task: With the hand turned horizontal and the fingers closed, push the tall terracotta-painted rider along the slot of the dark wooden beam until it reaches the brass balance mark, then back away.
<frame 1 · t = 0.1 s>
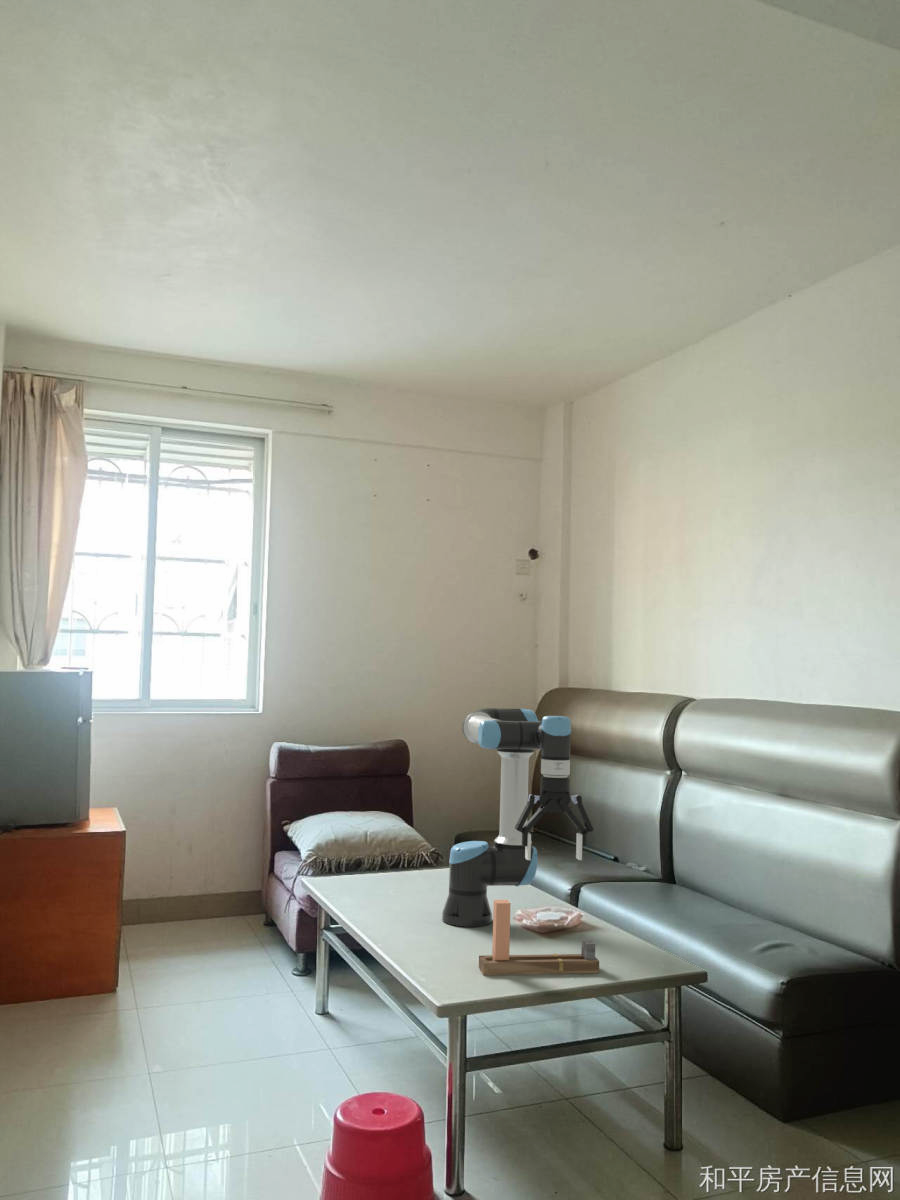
hand: (553, 859, 238), 28 cm above the table, tool pointing down, fingers open, 13 cm apart
beam: (538, 970, 236), on the table
rider: (501, 934, 235), point 9 cm above the table, slide at 0.0 cm
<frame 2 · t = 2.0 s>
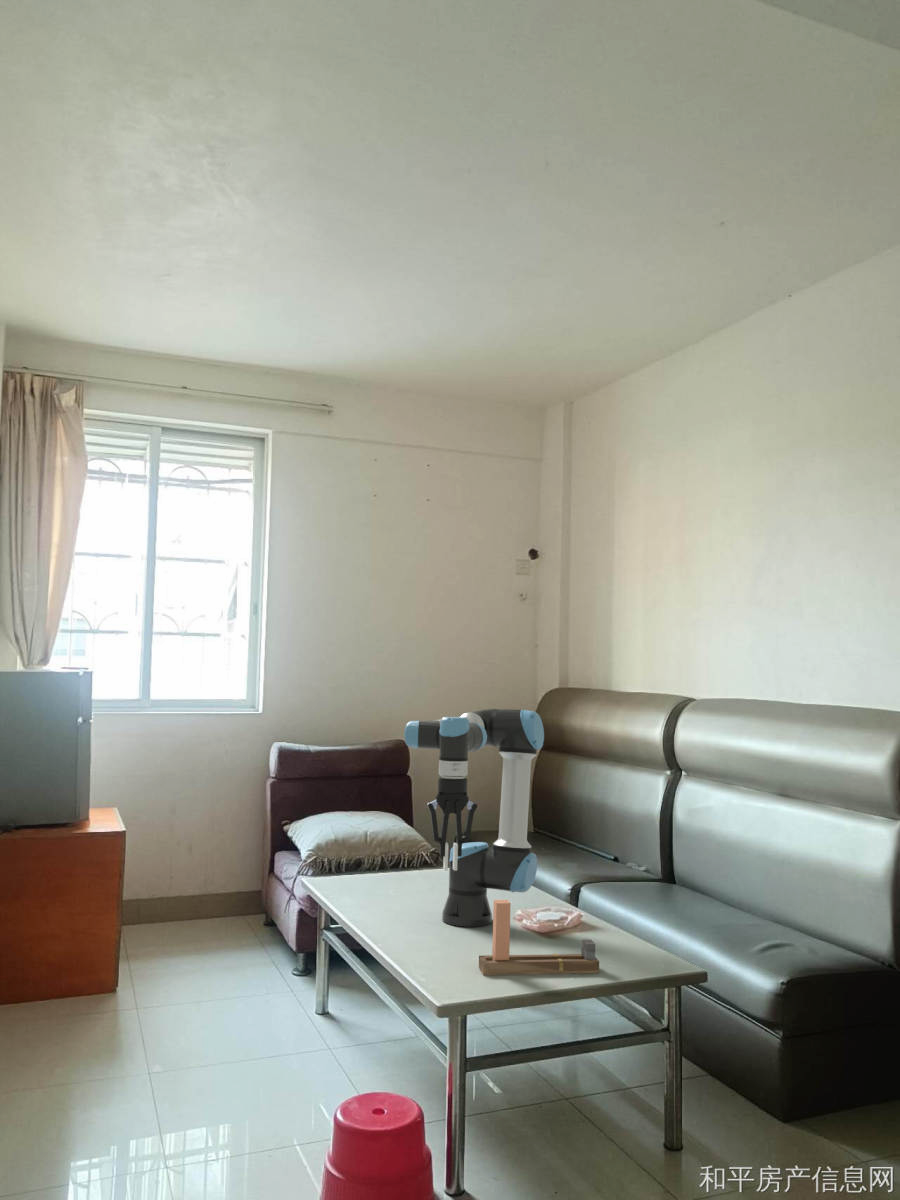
hand: (450, 869, 238), 24 cm above the table, tool pointing down, fingers closed
nothing on the table moved.
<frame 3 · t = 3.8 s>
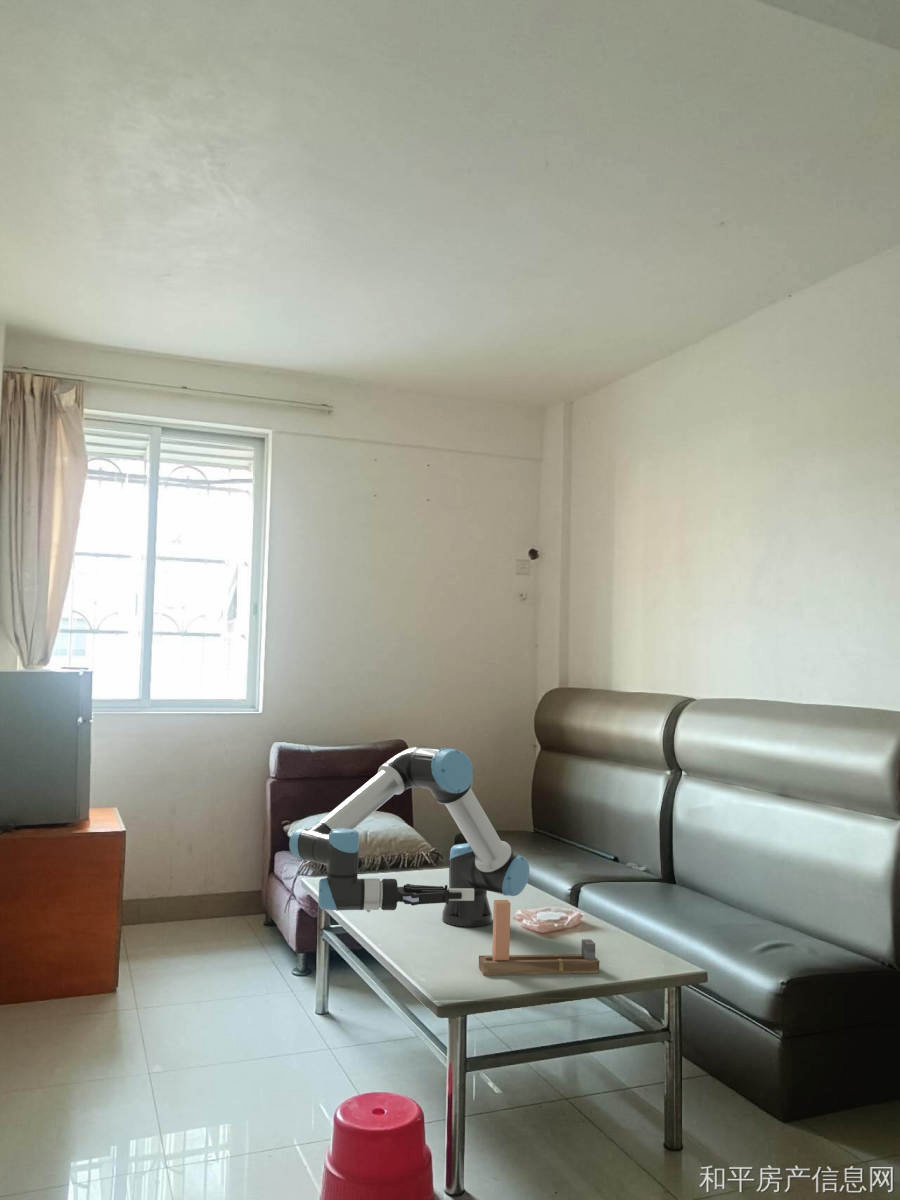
hand: (473, 894, 234), 19 cm above the table, tool horizontal, fingers closed
nothing on the table moved.
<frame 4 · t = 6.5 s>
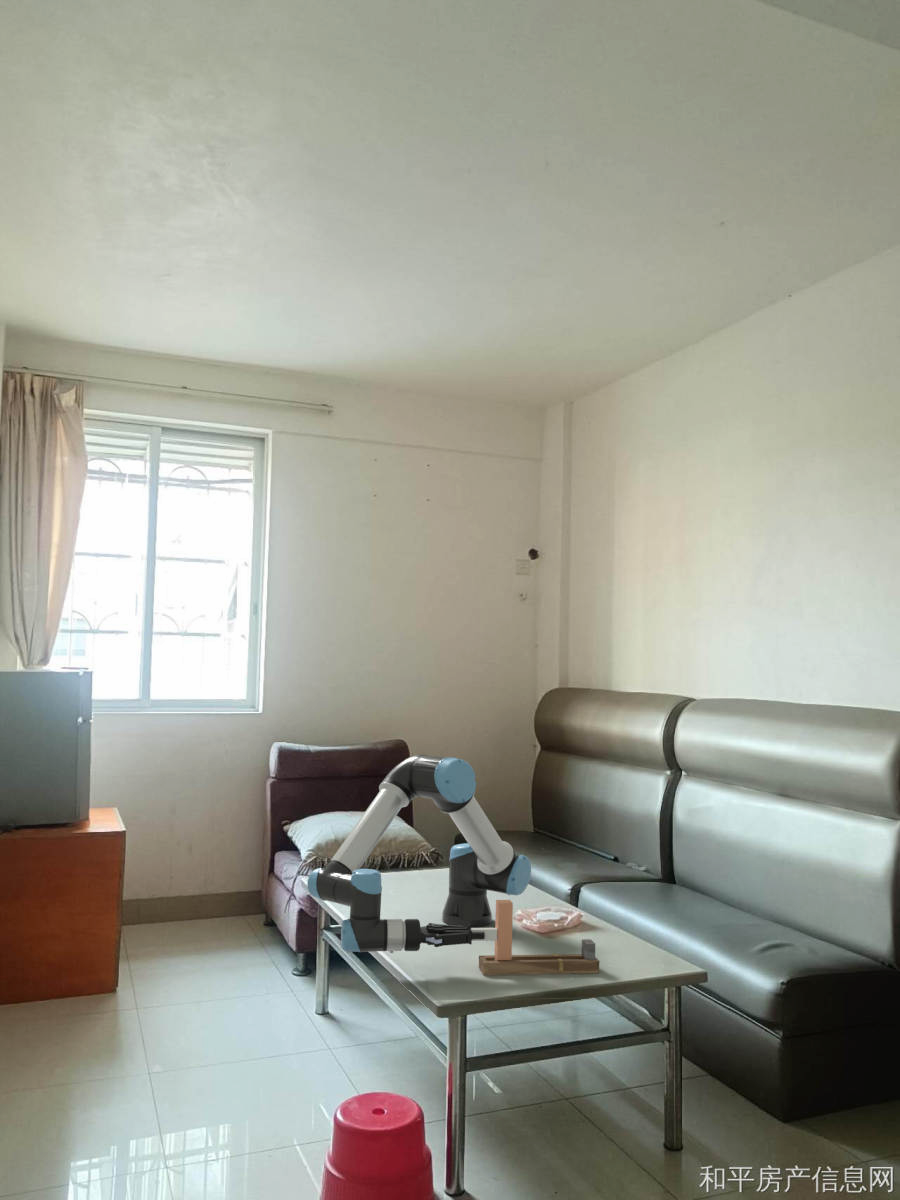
hand: (496, 934, 234), 9 cm above the table, tool horizontal, fingers closed
rider: (503, 934, 235), point 9 cm above the table, slide at 0.6 cm, touching gripper
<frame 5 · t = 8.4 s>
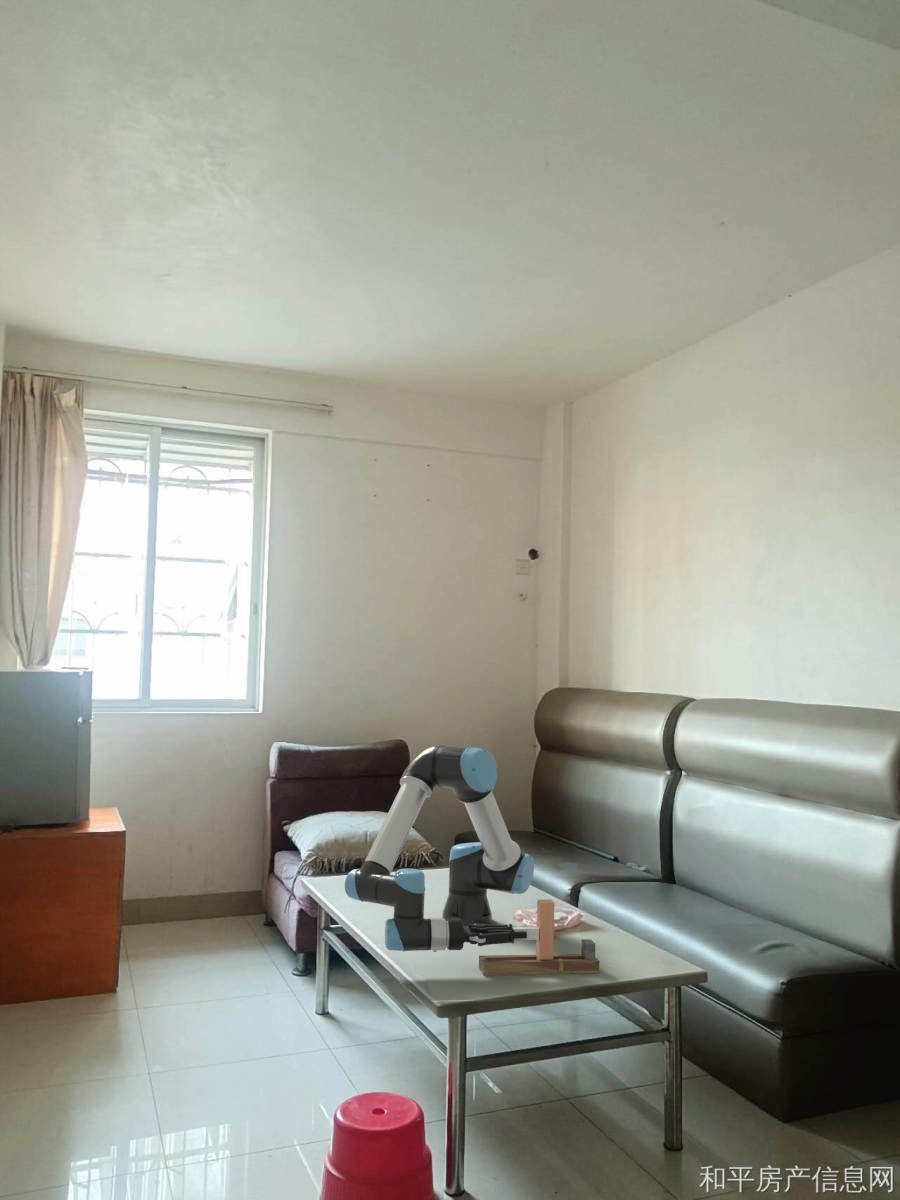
hand: (538, 933, 235), 9 cm above the table, tool horizontal, fingers closed
rider: (545, 933, 237), point 9 cm above the table, slide at 11.5 cm, touching gripper
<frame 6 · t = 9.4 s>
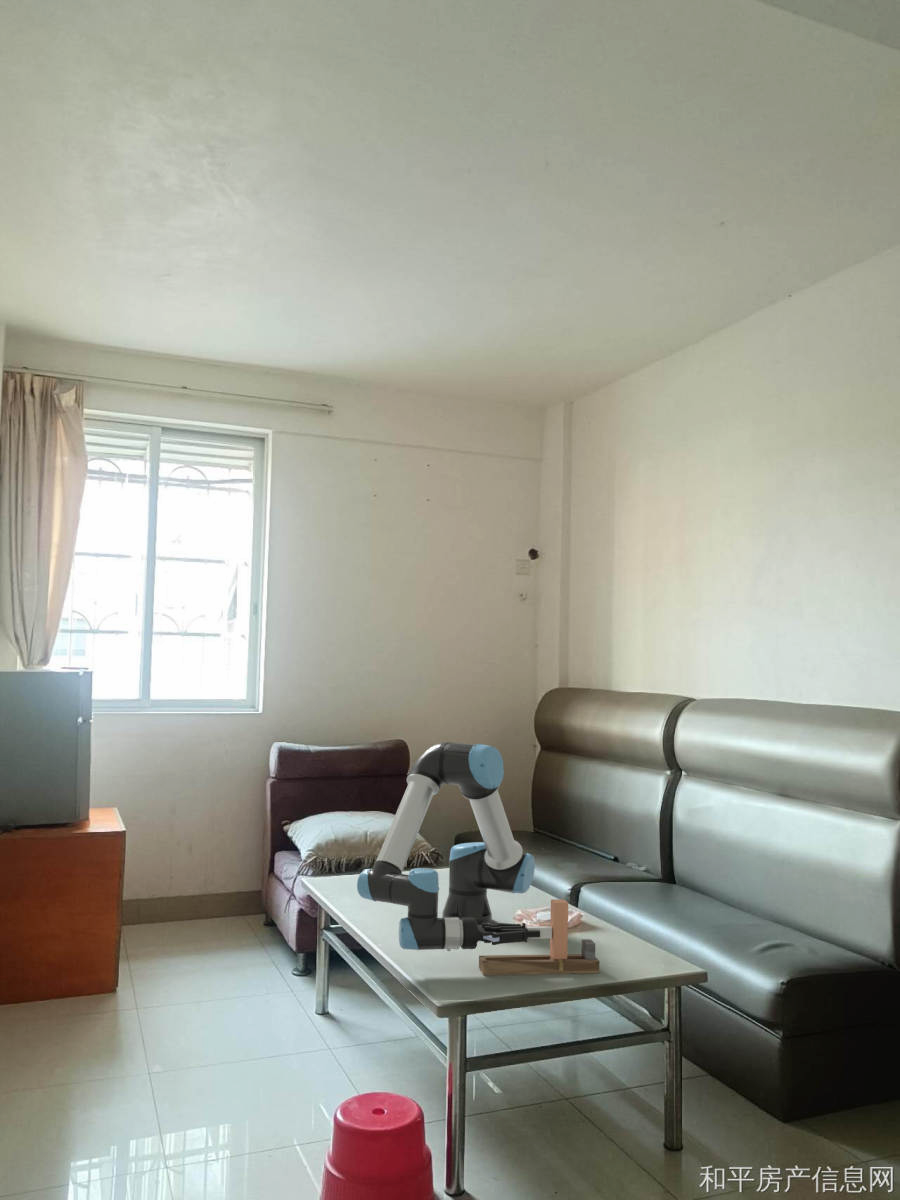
hand: (551, 932, 237), 9 cm above the table, tool horizontal, fingers closed
rider: (558, 933, 237), point 9 cm above the table, slide at 15.1 cm
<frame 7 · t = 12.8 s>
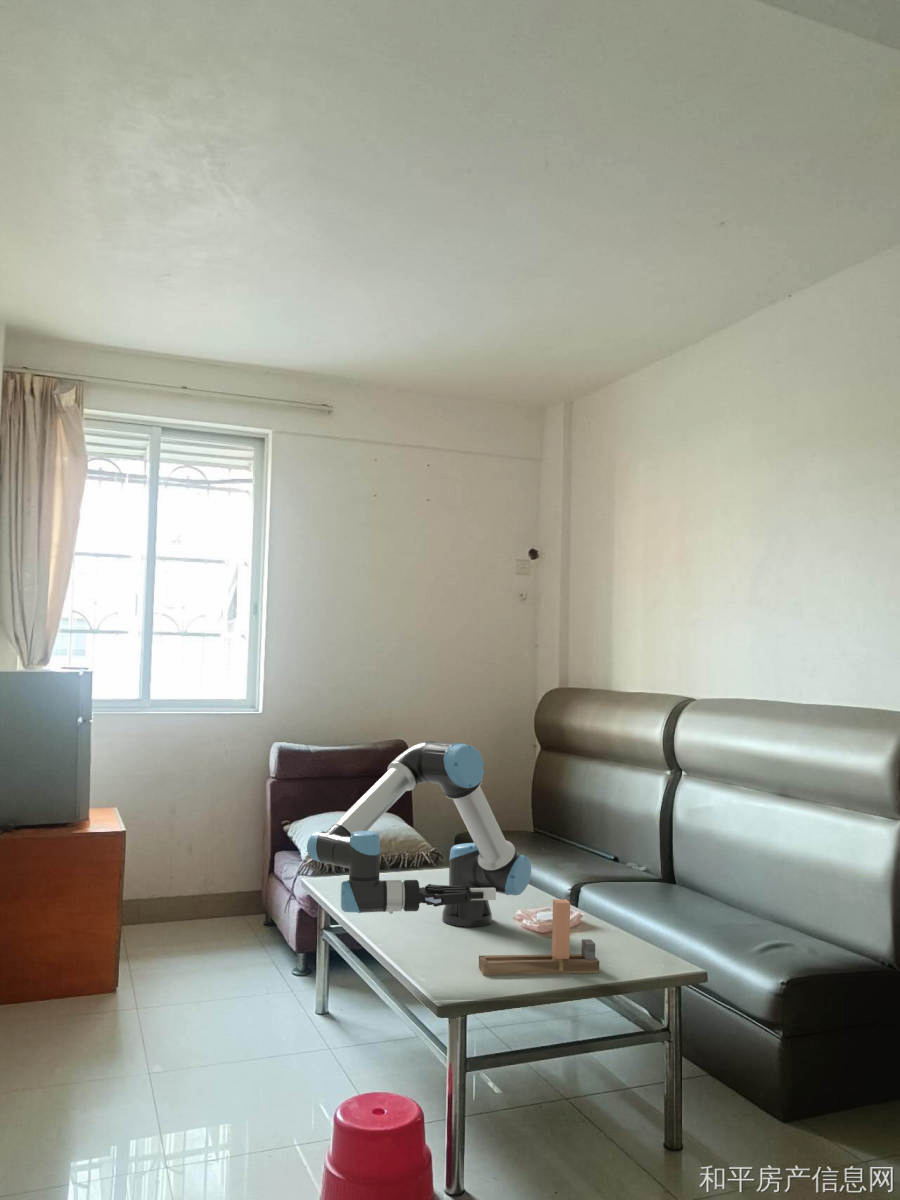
hand: (495, 893, 235), 19 cm above the table, tool horizontal, fingers closed
rider: (560, 933, 237), point 9 cm above the table, slide at 15.6 cm
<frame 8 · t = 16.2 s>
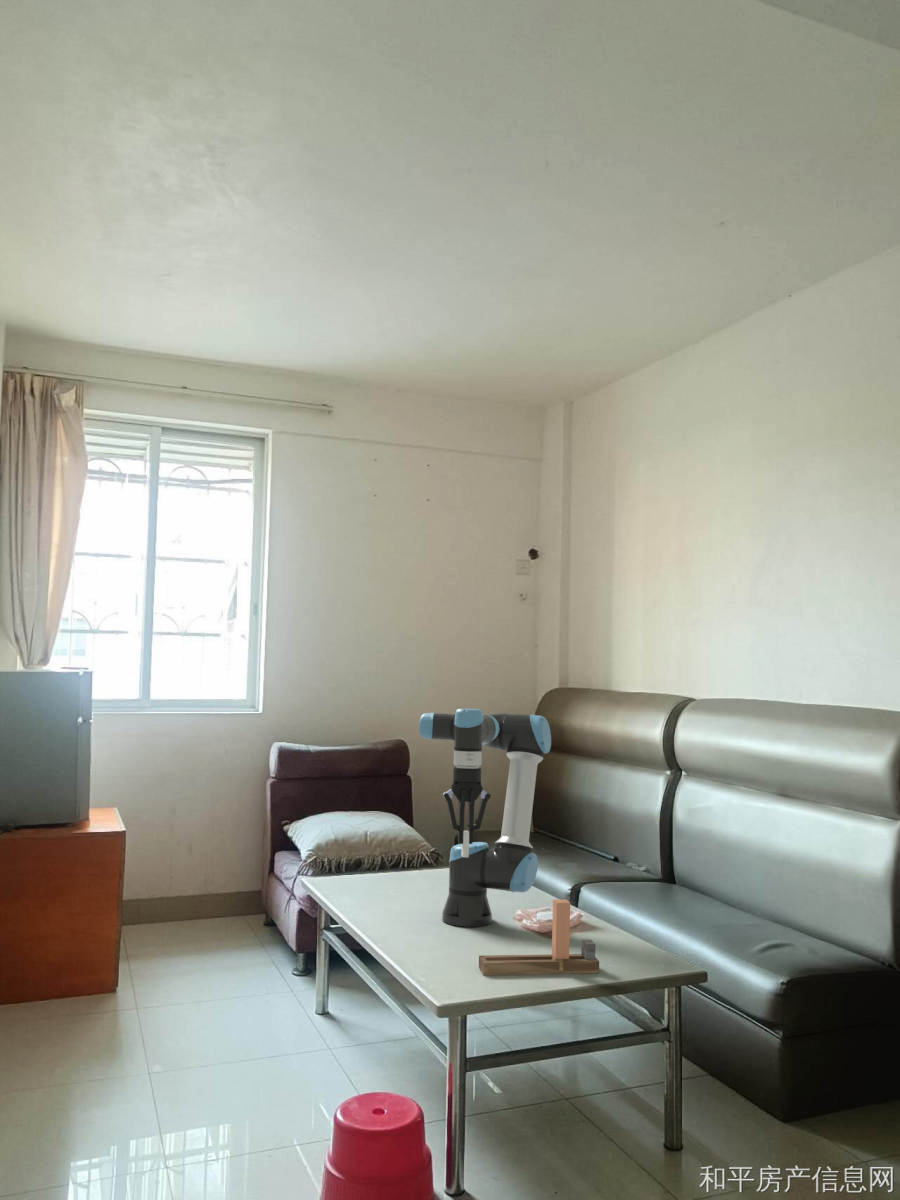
hand: (464, 856, 246), 26 cm above the table, tool pointing down, fingers closed
nothing on the table moved.
at the end: rider slide at 15.6 cm; rider moved 15.6 cm from its start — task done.
